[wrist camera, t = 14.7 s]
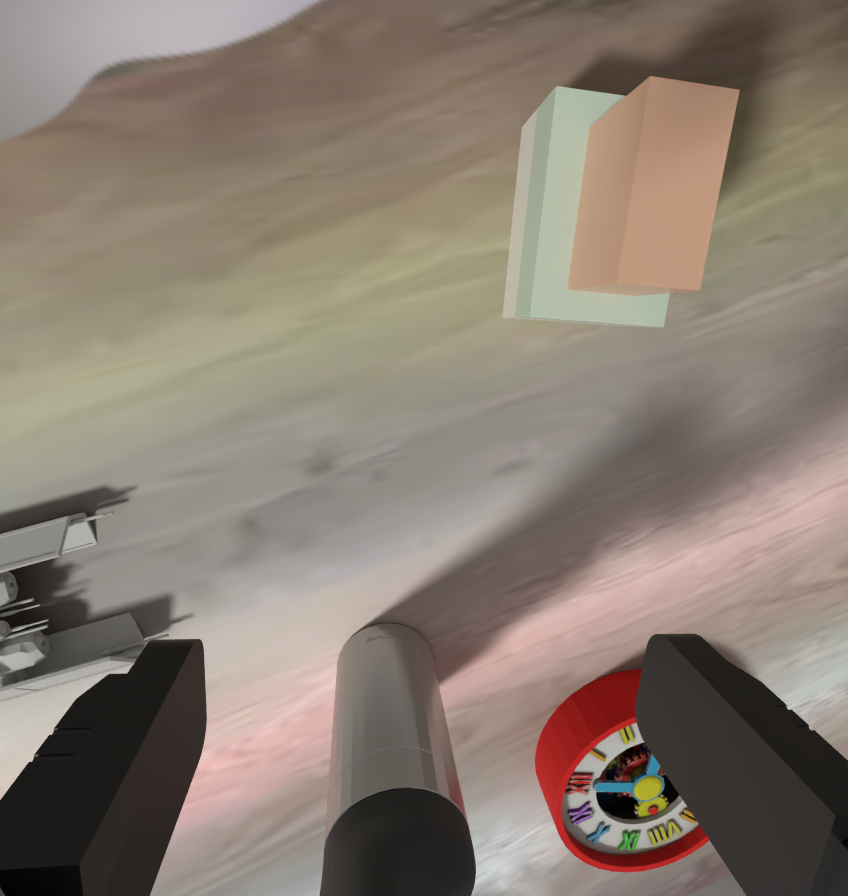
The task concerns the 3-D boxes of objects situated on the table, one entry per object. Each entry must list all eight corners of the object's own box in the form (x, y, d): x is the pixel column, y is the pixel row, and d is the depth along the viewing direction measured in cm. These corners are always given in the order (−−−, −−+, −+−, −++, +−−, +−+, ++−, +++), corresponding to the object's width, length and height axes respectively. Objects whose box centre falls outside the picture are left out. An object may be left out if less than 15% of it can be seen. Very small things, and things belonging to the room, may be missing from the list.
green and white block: (615, 325, 43) (663, 327, 36) (502, 317, 41) (529, 317, 35) (644, 142, 39) (703, 106, 33) (522, 127, 38) (556, 86, 31)
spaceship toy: (178, 635, 45) (149, 683, 39) (-46, 698, 44) (-110, 758, 38) (115, 495, 42) (73, 525, 35) (-130, 561, 41) (-217, 603, 34)
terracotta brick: (661, 136, 33) (739, 89, 26) (634, 295, 35) (699, 290, 28) (589, 126, 32) (650, 76, 25) (567, 289, 34) (616, 282, 28)
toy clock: (714, 870, 53) (536, 874, 50) (680, 817, 59) (518, 817, 56) (772, 712, 48) (579, 705, 45) (729, 671, 54) (555, 663, 51)
